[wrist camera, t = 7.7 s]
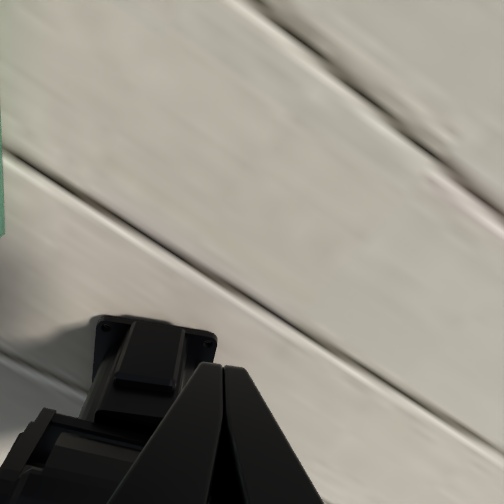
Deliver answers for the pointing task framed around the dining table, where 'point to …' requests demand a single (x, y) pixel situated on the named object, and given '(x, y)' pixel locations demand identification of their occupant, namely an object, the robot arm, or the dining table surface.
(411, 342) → the dining table surface
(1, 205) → the circuit board
